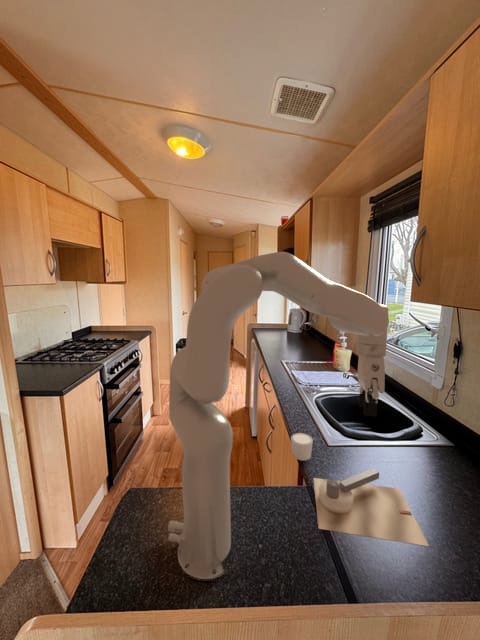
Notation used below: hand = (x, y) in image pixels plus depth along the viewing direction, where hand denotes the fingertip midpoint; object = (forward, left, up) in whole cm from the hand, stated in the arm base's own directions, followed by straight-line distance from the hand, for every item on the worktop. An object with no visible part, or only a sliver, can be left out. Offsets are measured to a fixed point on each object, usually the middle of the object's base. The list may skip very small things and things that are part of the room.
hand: (367, 410), depth 77 cm
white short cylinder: (-18, +3, -20) cm, 27 cm away
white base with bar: (-6, -12, -18) cm, 22 cm away
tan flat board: (-4, -15, -19) cm, 25 cm away
